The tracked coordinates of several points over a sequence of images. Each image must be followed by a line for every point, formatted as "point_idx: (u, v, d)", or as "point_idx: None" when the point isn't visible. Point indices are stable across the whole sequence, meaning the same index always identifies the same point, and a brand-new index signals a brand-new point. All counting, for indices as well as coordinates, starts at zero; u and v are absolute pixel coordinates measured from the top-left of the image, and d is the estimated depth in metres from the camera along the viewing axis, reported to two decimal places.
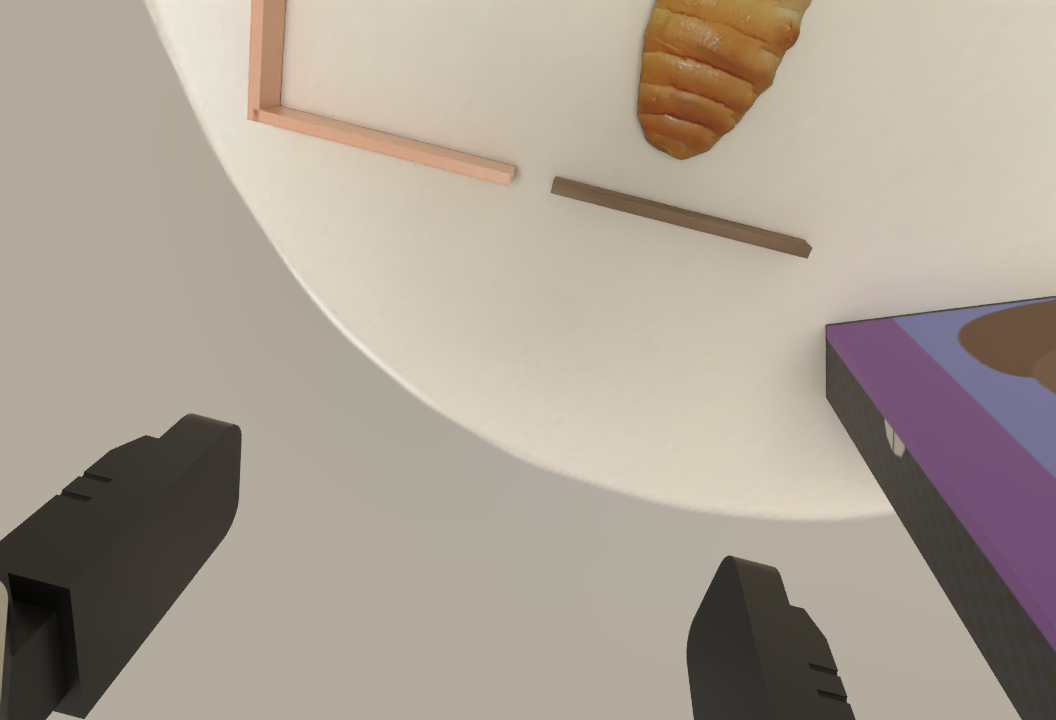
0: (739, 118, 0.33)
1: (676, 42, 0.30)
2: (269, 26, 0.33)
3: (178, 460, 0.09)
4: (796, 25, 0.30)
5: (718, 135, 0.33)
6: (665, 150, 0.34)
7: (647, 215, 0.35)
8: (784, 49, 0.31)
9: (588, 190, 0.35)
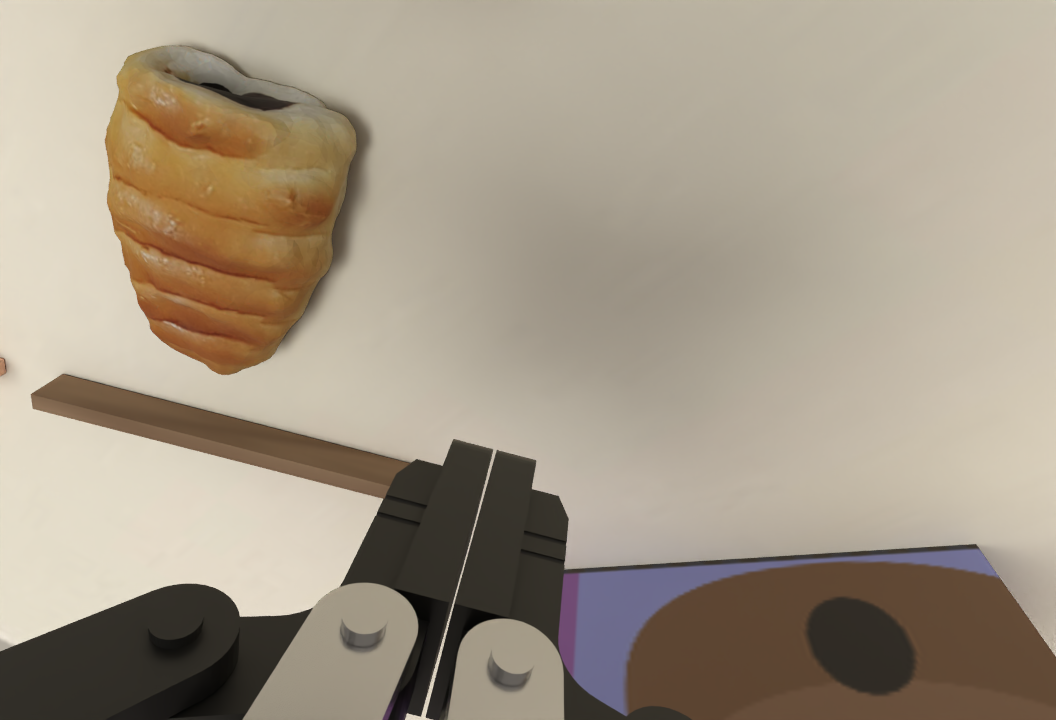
0: (291, 319, 0.21)
1: (128, 222, 0.18)
2: None
3: (470, 484, 0.10)
4: (310, 193, 0.18)
5: (260, 346, 0.21)
6: None
7: (179, 443, 0.23)
8: (309, 226, 0.18)
9: (86, 406, 0.23)
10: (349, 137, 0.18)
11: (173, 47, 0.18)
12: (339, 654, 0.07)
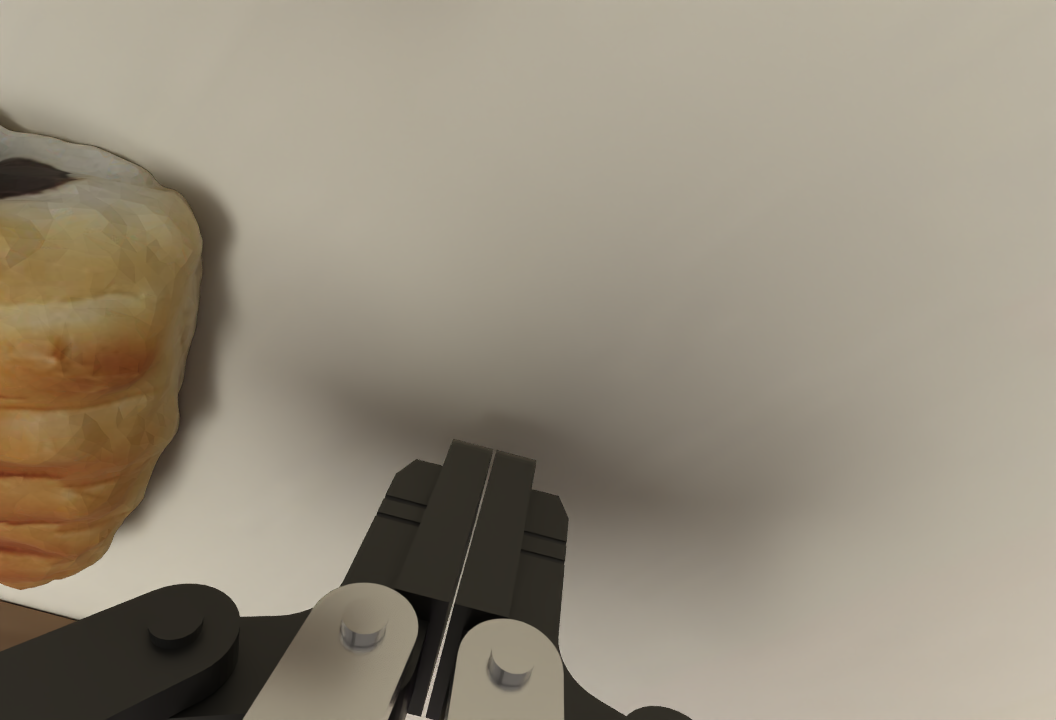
0: (117, 514, 0.13)
1: None
2: None
3: (469, 484, 0.10)
4: (98, 340, 0.10)
5: (68, 557, 0.13)
6: None
7: None
8: (111, 390, 0.10)
9: None
10: (179, 235, 0.10)
11: None
12: (339, 654, 0.07)
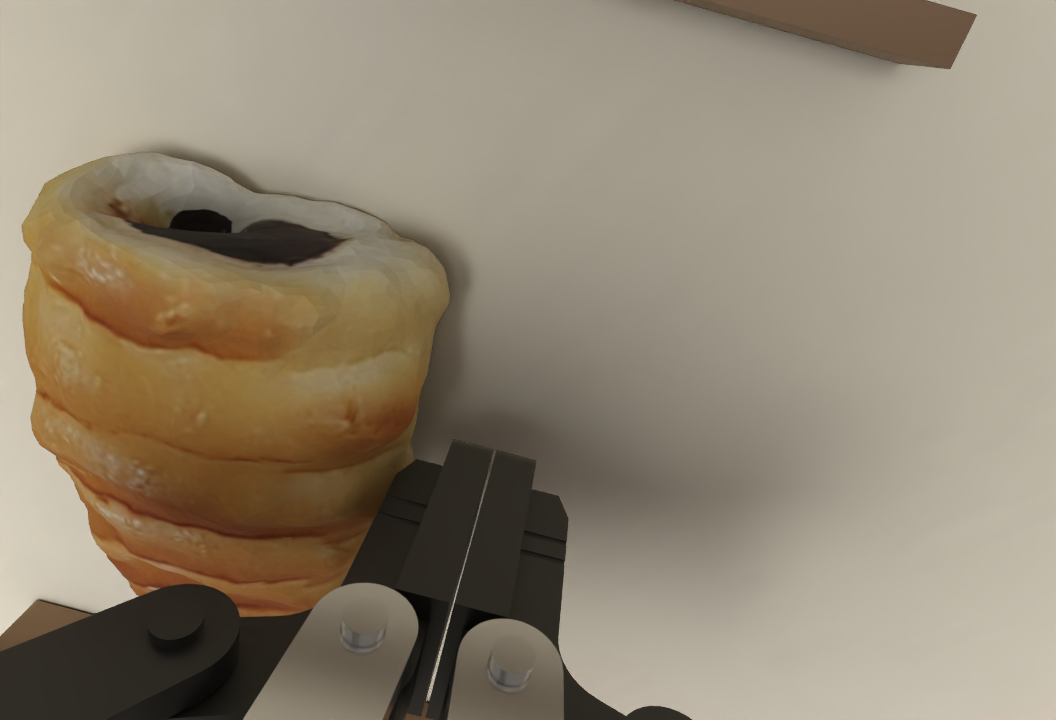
0: (351, 564, 0.13)
1: (70, 460, 0.11)
2: None
3: (470, 484, 0.10)
4: (380, 399, 0.10)
5: (304, 610, 0.13)
6: None
7: None
8: (380, 447, 0.10)
9: None
10: (439, 287, 0.10)
11: (126, 157, 0.10)
12: (339, 654, 0.07)
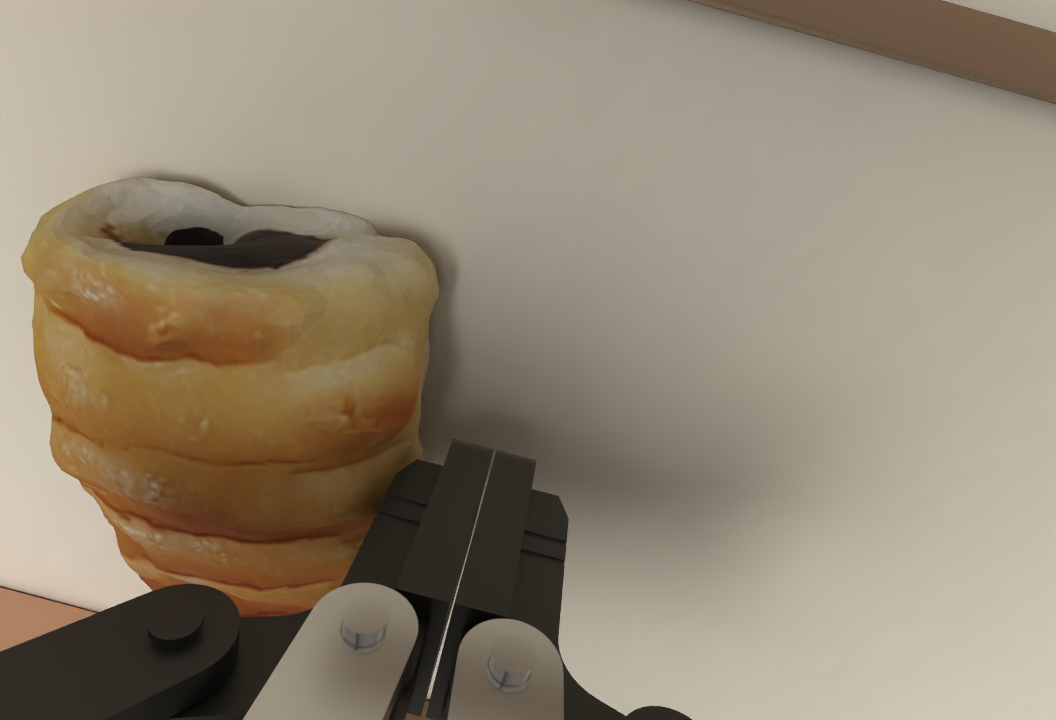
0: None
1: (91, 481, 0.11)
2: None
3: (470, 484, 0.10)
4: (377, 392, 0.10)
5: None
6: None
7: None
8: (384, 441, 0.11)
9: None
10: (427, 277, 0.10)
11: (116, 184, 0.11)
12: (339, 654, 0.07)
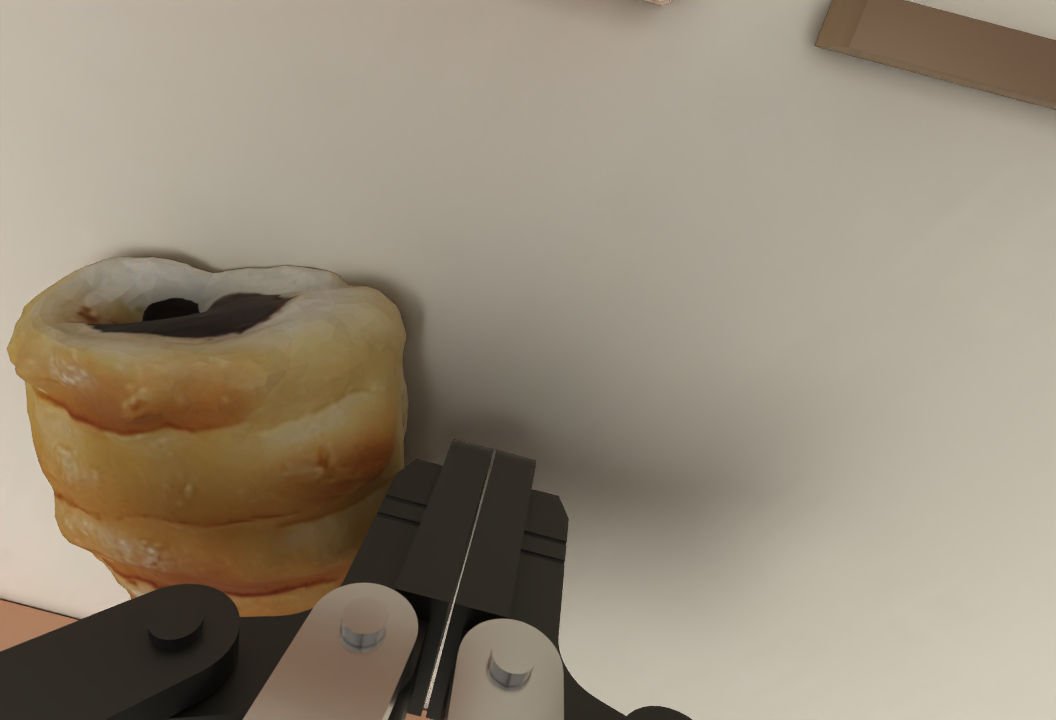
0: None
1: (97, 551, 0.11)
2: None
3: (470, 484, 0.10)
4: (350, 441, 0.10)
5: None
6: None
7: None
8: (365, 486, 0.11)
9: None
10: (390, 323, 0.11)
11: (91, 267, 0.11)
12: (339, 654, 0.07)
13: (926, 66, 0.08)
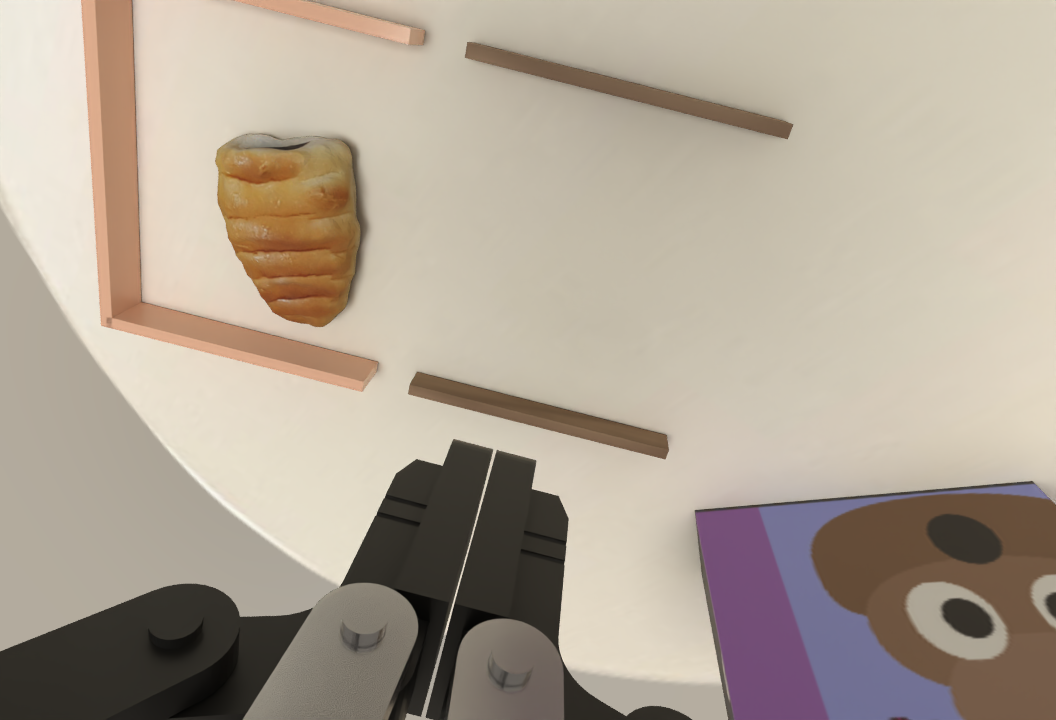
0: (348, 274, 0.33)
1: (242, 242, 0.31)
2: (117, 240, 0.33)
3: (470, 484, 0.10)
4: (332, 186, 0.30)
5: (335, 297, 0.33)
6: (306, 323, 0.34)
7: (504, 416, 0.35)
8: (338, 208, 0.31)
9: (445, 392, 0.35)
10: (345, 150, 0.31)
11: (238, 137, 0.31)
12: (339, 654, 0.07)
13: (486, 62, 0.28)
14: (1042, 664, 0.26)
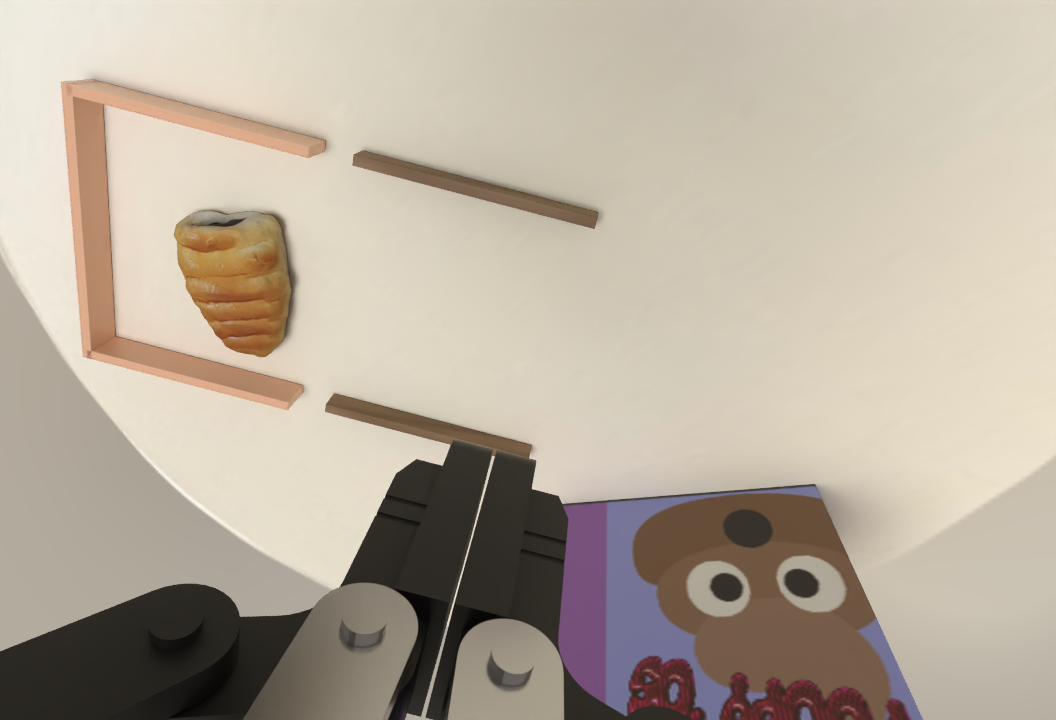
0: (282, 316, 0.42)
1: (197, 294, 0.41)
2: (95, 292, 0.42)
3: (470, 484, 0.10)
4: (263, 253, 0.39)
5: (273, 334, 0.42)
6: (252, 354, 0.44)
7: (400, 430, 0.45)
8: (269, 268, 0.40)
9: (354, 410, 0.45)
10: (273, 223, 0.40)
11: (192, 214, 0.40)
12: (339, 654, 0.07)
13: (368, 169, 0.37)
14: (764, 619, 0.36)
